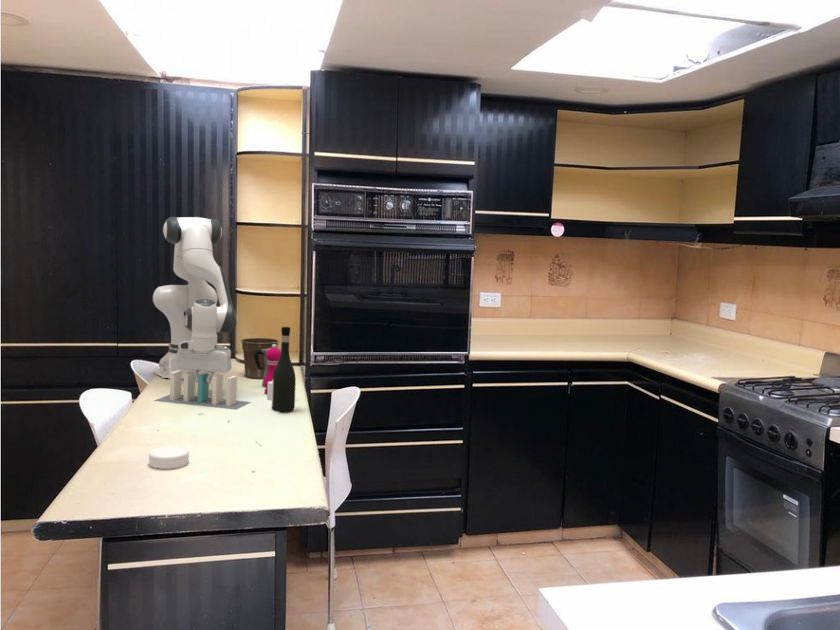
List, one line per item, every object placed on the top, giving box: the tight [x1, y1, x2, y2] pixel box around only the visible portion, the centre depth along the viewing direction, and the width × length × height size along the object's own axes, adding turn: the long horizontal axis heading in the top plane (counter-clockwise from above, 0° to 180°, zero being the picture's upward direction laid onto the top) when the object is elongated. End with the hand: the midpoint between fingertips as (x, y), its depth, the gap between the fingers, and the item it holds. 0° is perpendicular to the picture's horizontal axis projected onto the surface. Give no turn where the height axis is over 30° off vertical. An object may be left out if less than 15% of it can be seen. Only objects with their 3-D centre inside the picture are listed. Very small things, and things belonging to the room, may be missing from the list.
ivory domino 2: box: [182, 372, 196, 402], centre depth 244 cm, size 2×5×10 cm, turn 170°
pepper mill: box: [263, 344, 281, 395], centre depth 261 cm, size 7×7×20 cm
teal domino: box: [197, 372, 210, 403], centre depth 243 cm, size 2×5×10 cm, turn 169°
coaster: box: [148, 445, 190, 470], centre depth 178 cm, size 10×10×4 cm
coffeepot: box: [254, 343, 281, 388], centre depth 275 cm, size 15×9×18 cm, turn 129°
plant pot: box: [240, 337, 280, 380], centre depth 293 cm, size 16×16×16 cm
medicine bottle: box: [266, 370, 275, 402], centre depth 252 cm, size 7×7×12 cm
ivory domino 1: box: [169, 370, 182, 400], centre depth 245 cm, size 2×5×10 cm, turn 169°
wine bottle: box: [271, 326, 297, 413], centre depth 237 cm, size 8×8×30 cm
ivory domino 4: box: [225, 375, 238, 406], centre depth 241 cm, size 2×5×10 cm, turn 169°
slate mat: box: [153, 394, 251, 411], centre depth 243 cm, size 32×12×1 cm, turn 79°
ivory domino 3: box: [211, 373, 224, 405], centre depth 242 cm, size 2×5×10 cm, turn 169°
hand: (203, 382), depth 243 cm, fingers open, 2 cm apart
